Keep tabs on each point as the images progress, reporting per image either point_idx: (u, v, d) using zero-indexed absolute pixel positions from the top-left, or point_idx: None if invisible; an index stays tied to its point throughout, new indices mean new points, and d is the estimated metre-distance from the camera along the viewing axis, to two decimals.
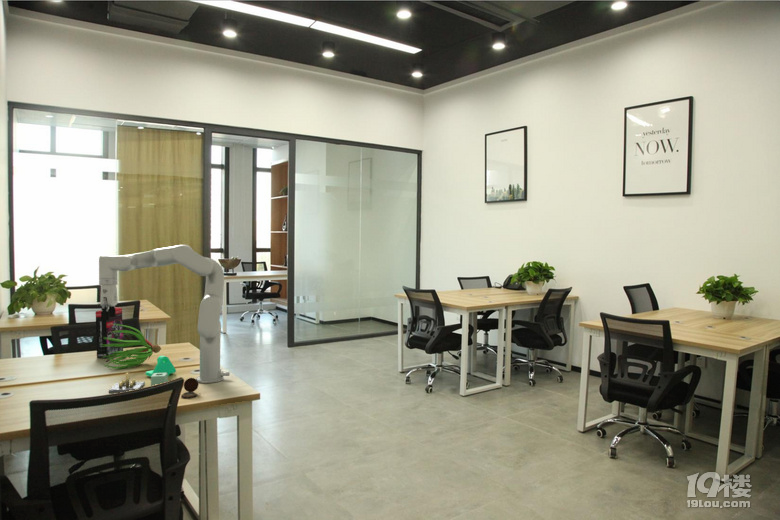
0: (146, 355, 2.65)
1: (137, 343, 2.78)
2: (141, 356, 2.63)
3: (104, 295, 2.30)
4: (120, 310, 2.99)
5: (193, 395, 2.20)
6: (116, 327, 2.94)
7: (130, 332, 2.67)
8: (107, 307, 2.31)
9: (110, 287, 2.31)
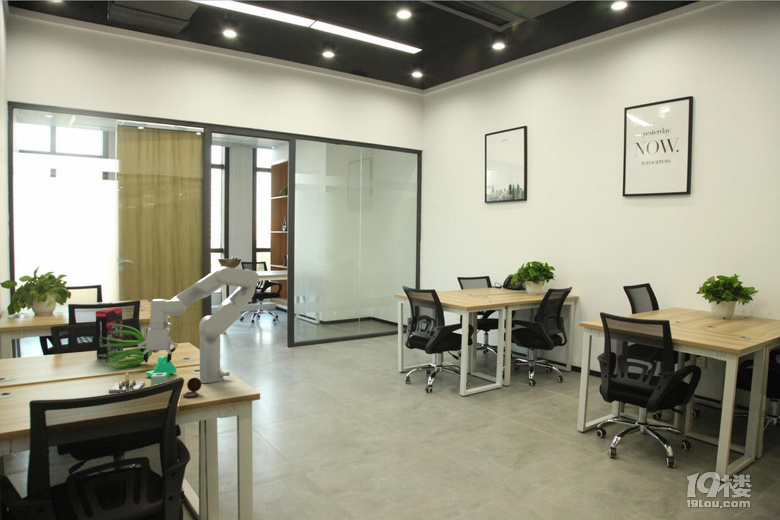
0: None
1: (136, 343, 2.78)
2: (141, 356, 2.63)
3: (169, 338, 2.37)
4: (120, 310, 2.99)
5: (194, 395, 2.20)
6: (116, 327, 2.94)
7: (129, 332, 2.67)
8: (170, 349, 2.39)
9: None
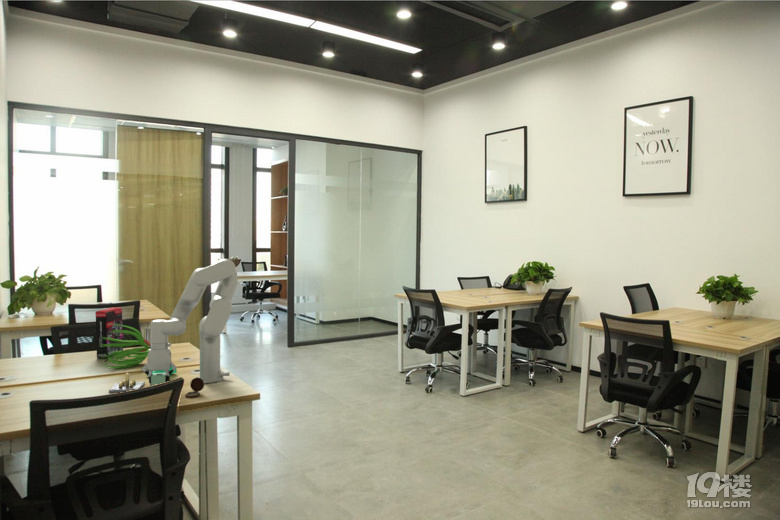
0: (145, 355, 2.66)
1: (135, 343, 2.79)
2: (140, 356, 2.64)
3: (170, 358, 2.38)
4: (120, 310, 2.99)
5: (195, 395, 2.20)
6: (116, 327, 2.94)
7: (129, 332, 2.67)
8: (169, 371, 2.39)
9: None
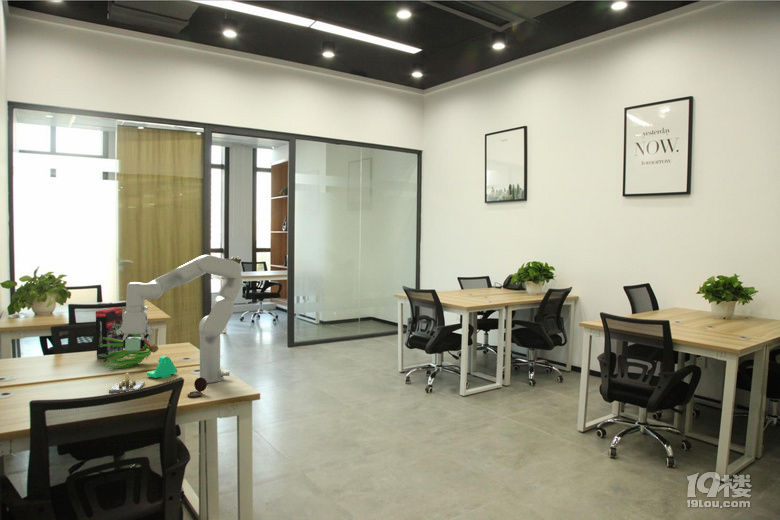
0: (145, 355, 2.67)
1: None
2: (140, 356, 2.64)
3: (146, 322, 2.33)
4: (120, 310, 2.99)
5: (196, 395, 2.20)
6: (116, 327, 2.94)
7: None
8: (144, 335, 2.34)
9: None
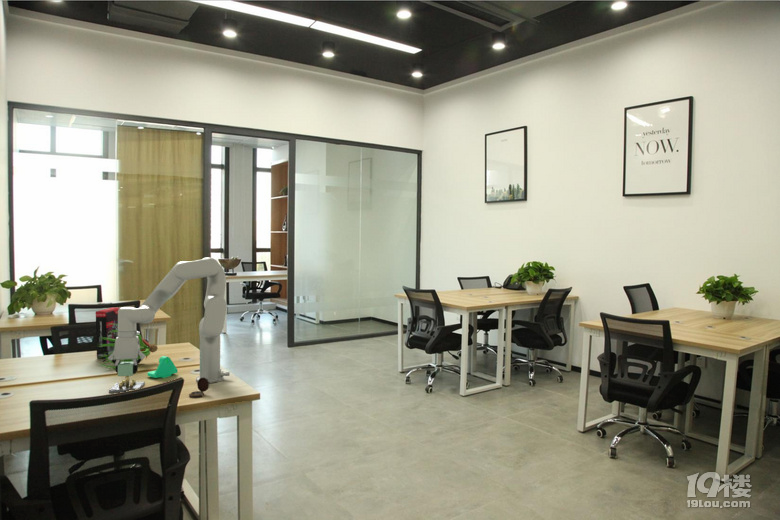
0: (144, 354, 2.67)
1: None
2: None
3: (138, 346, 2.32)
4: None
5: (197, 395, 2.20)
6: (116, 327, 2.94)
7: None
8: (137, 360, 2.33)
9: None
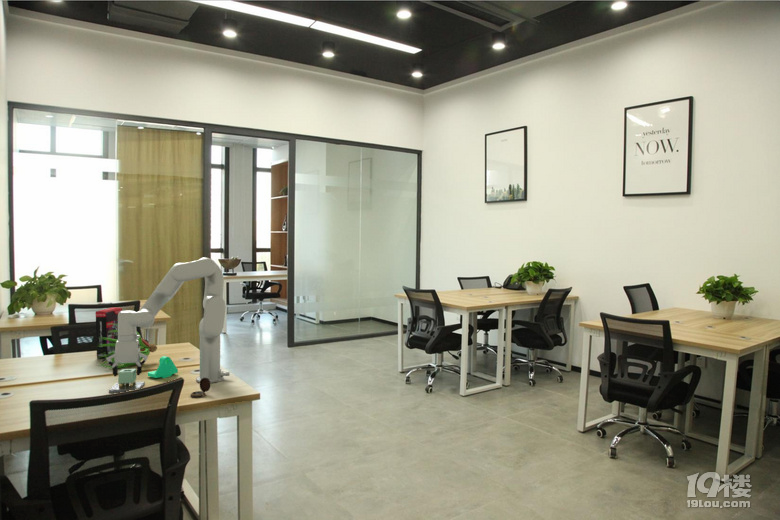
0: (144, 354, 2.67)
1: None
2: None
3: (139, 350, 2.32)
4: (120, 310, 2.99)
5: (198, 395, 2.20)
6: (116, 327, 2.94)
7: None
8: (140, 361, 2.33)
9: None
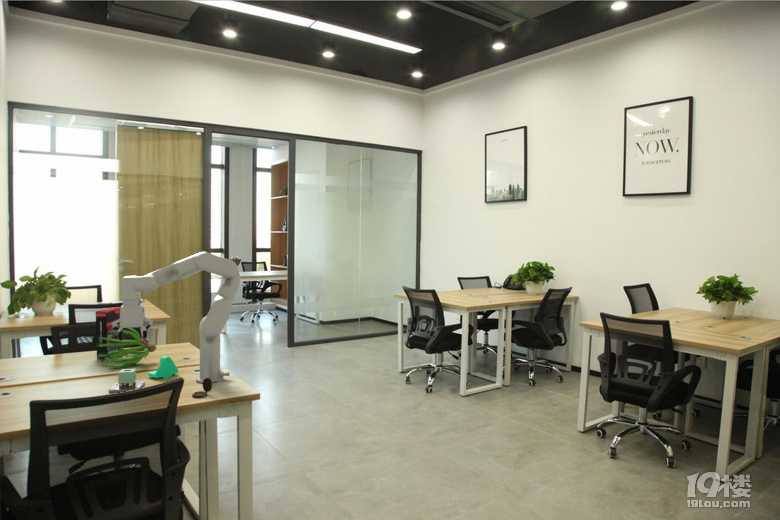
0: (143, 354, 2.67)
1: (132, 343, 2.79)
2: (139, 355, 2.65)
3: (143, 314, 2.34)
4: (120, 310, 2.99)
5: (199, 395, 2.20)
6: None
7: (127, 332, 2.68)
8: (145, 326, 2.35)
9: None
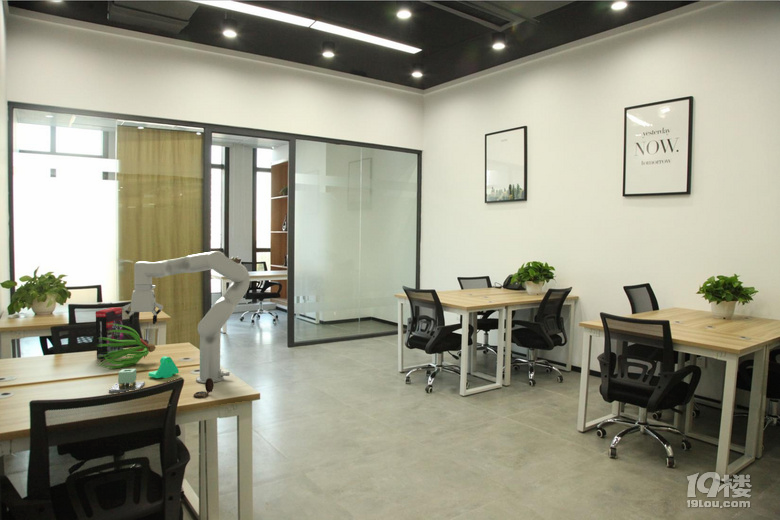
0: (143, 354, 2.68)
1: (131, 342, 2.79)
2: (138, 355, 2.65)
3: (154, 300, 2.40)
4: (120, 310, 2.99)
5: (199, 395, 2.19)
6: (116, 327, 2.94)
7: (126, 331, 2.68)
8: (156, 311, 2.41)
9: None
